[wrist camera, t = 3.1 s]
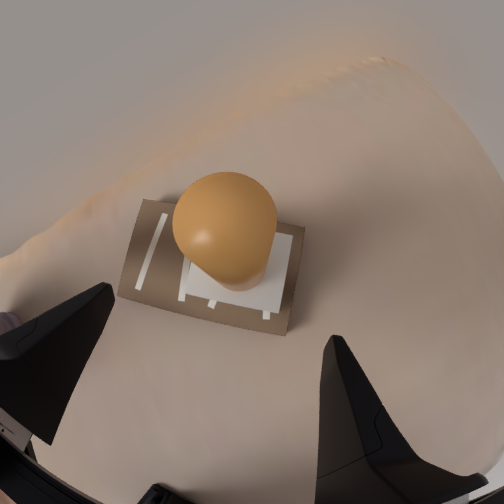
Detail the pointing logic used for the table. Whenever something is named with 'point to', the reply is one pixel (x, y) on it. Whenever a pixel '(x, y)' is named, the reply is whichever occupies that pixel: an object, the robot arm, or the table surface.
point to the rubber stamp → (232, 242)
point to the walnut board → (177, 269)
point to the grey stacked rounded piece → (8, 322)
